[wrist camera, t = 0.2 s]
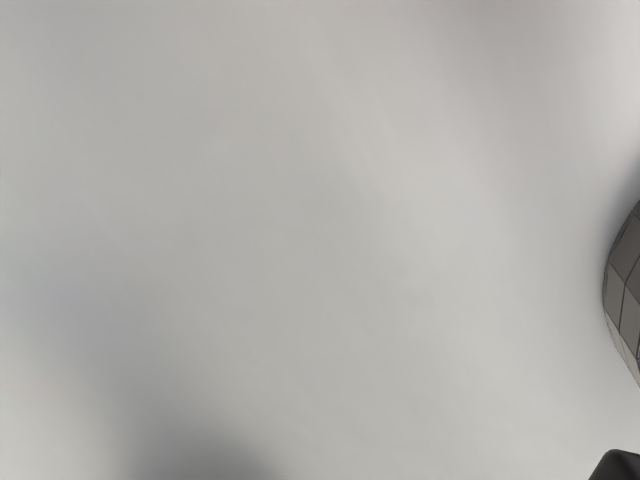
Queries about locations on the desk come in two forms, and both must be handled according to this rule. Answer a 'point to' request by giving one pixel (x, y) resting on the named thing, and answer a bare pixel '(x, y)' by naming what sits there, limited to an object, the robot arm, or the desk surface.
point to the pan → (625, 292)
